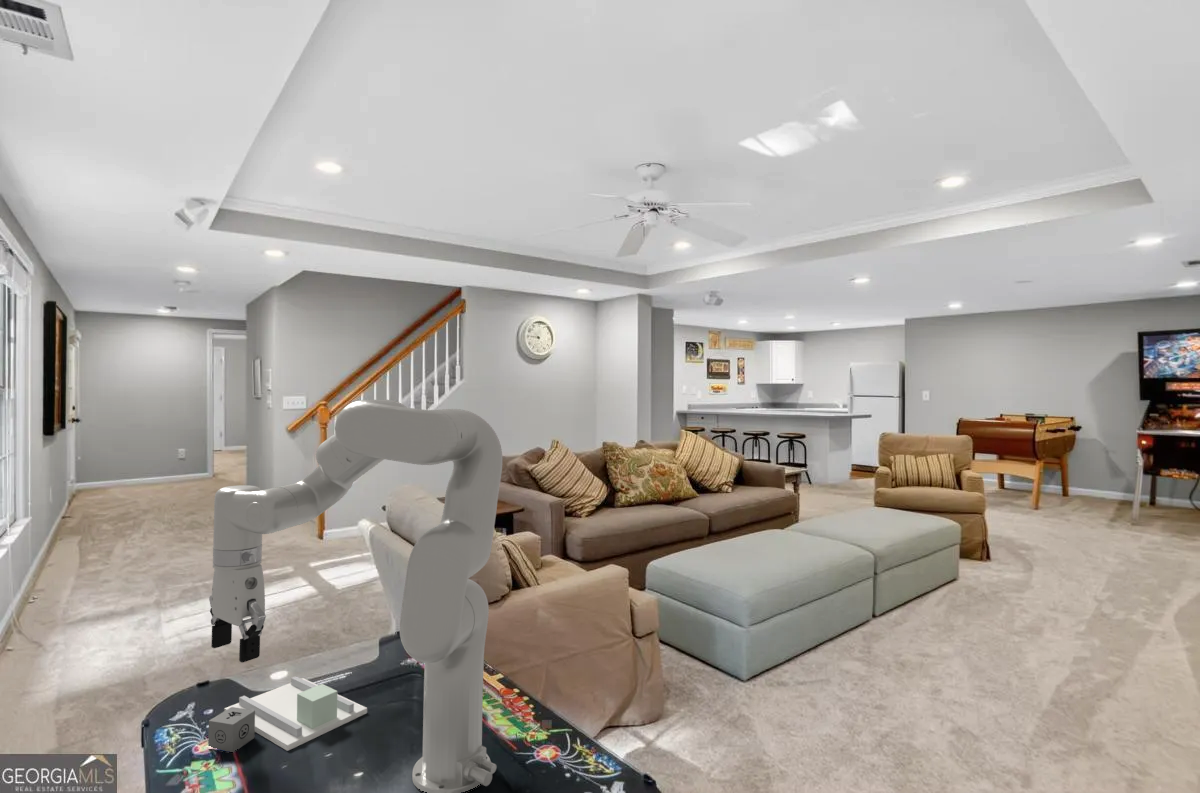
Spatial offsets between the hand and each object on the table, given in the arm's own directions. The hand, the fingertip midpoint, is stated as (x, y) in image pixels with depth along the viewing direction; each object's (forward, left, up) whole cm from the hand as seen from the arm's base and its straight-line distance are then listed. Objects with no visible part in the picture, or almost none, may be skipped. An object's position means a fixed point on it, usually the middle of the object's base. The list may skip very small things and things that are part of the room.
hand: (235, 652), depth 110 cm
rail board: (+1, -12, -16) cm, 20 cm away
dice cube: (0, 0, -16) cm, 16 cm away
